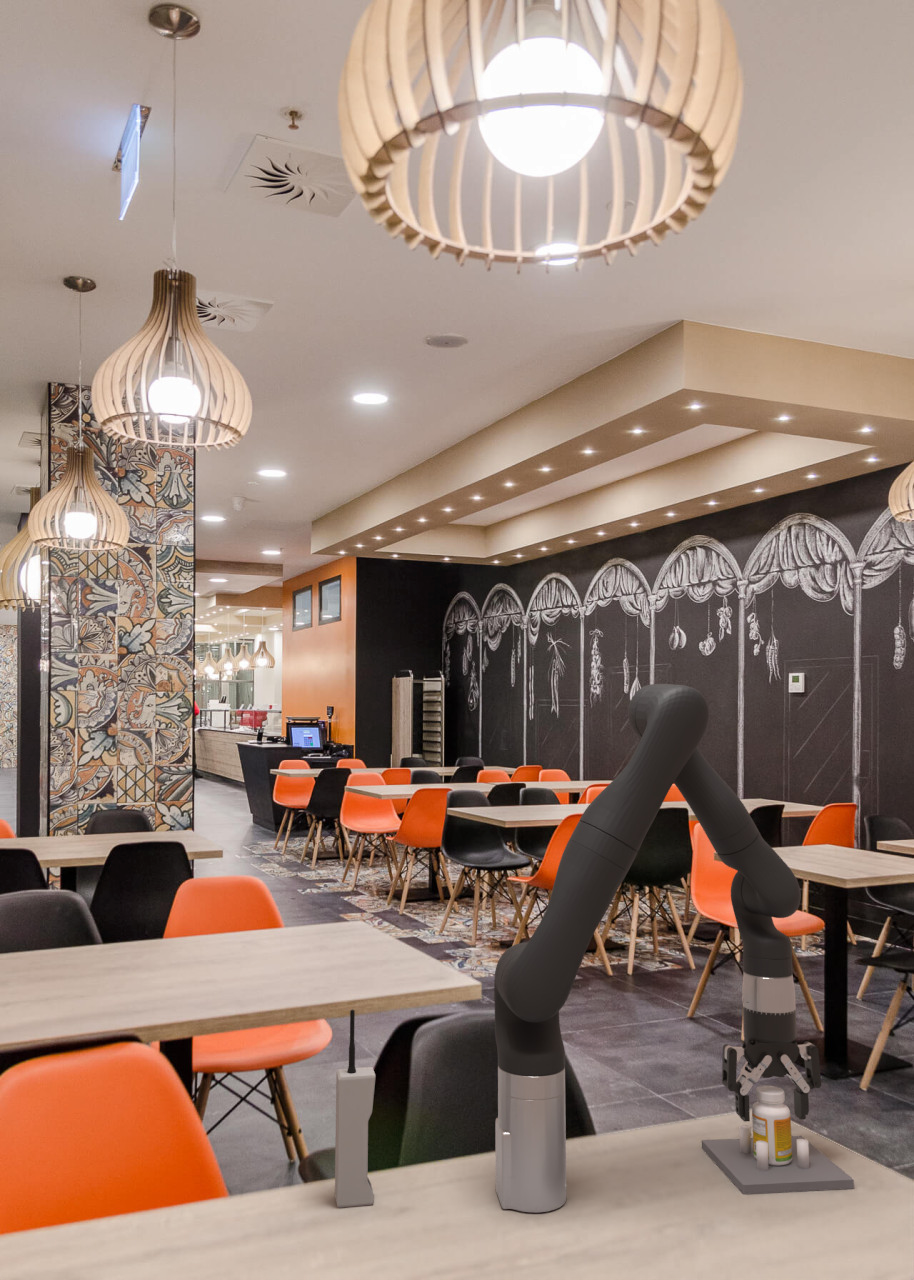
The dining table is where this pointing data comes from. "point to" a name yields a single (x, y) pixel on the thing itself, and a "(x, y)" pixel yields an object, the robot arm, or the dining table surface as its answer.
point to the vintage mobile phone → (353, 1130)
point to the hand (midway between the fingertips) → (772, 1118)
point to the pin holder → (759, 1177)
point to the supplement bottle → (772, 1124)
